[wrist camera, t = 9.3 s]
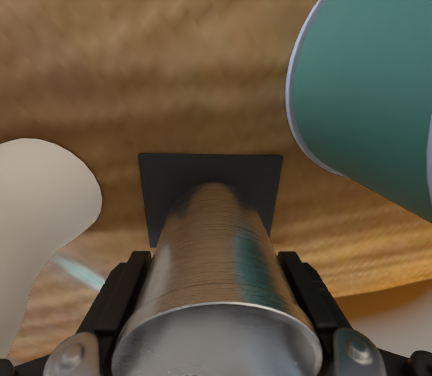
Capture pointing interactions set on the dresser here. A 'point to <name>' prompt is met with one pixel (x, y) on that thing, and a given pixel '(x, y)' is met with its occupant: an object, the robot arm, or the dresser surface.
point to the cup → (37, 218)
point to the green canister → (367, 95)
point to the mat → (205, 173)
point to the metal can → (216, 298)
